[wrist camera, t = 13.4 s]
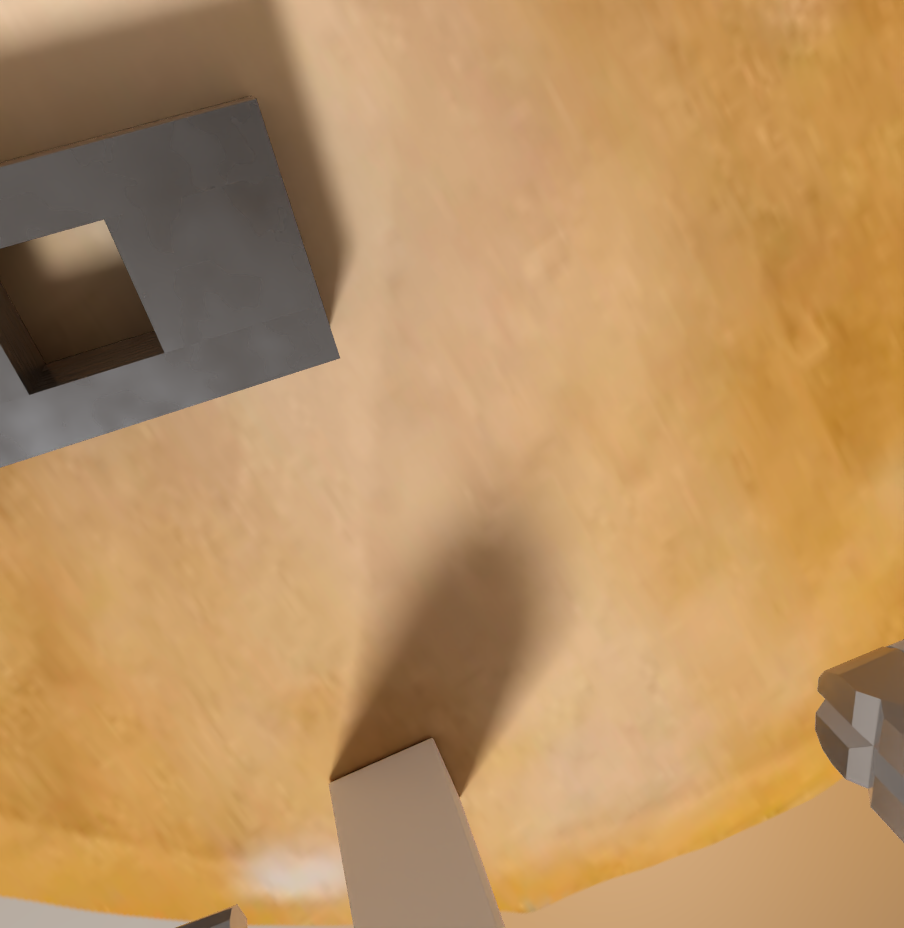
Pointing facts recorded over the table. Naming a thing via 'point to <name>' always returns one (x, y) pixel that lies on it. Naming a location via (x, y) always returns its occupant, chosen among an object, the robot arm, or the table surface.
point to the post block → (163, 275)
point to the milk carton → (410, 846)
